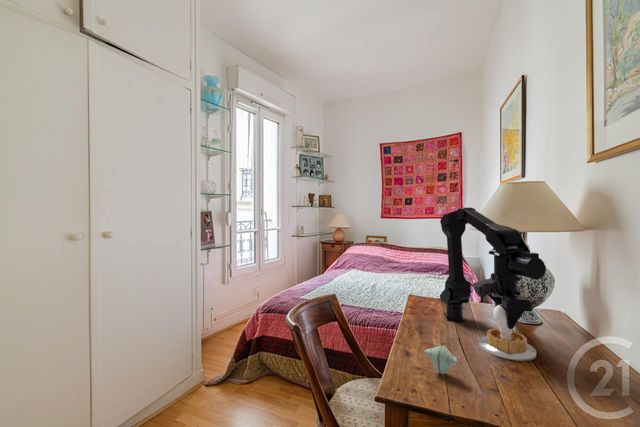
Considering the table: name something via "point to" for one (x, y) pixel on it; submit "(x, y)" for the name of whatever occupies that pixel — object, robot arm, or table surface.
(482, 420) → the table surface
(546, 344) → the table surface
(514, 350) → the wooden ring on plate
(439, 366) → the robot head
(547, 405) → the table surface
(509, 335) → the lightbulb
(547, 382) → the table surface
